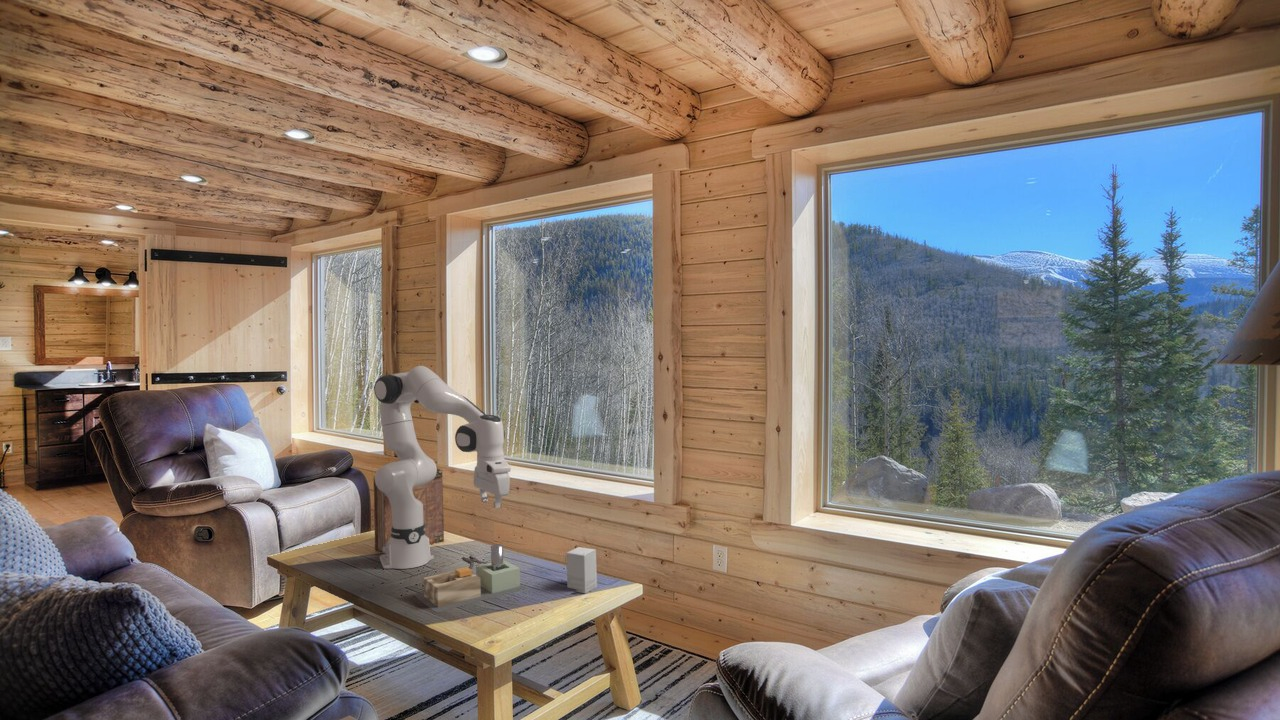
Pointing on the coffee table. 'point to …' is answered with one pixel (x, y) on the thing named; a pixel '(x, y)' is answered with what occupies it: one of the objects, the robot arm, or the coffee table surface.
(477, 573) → the frame
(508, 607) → the coffee table surface
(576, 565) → the supplement box
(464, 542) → the coffee table surface
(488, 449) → the robot arm
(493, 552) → the grey cylindrical peg
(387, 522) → the book
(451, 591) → the socket block
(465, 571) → the key
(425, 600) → the mat
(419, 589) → the coffee table surface
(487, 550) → the coffee table surface
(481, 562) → the pliers
